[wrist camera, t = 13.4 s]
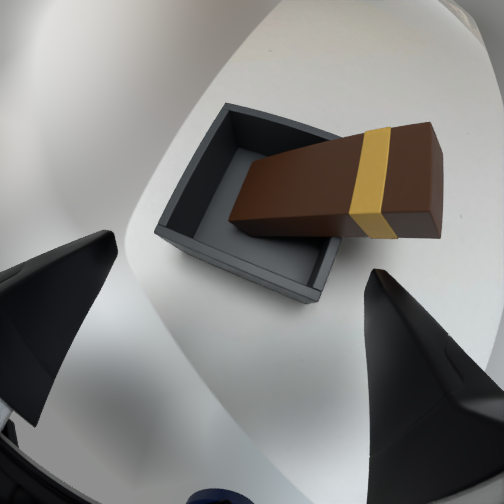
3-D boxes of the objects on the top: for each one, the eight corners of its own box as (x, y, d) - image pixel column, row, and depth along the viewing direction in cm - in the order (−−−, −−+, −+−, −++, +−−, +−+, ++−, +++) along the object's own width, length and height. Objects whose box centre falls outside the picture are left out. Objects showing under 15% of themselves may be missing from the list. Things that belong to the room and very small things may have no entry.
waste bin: (307, 304, 20) (317, 302, 14) (182, 251, 21) (153, 232, 16) (350, 183, 21) (369, 148, 16) (236, 143, 23) (225, 102, 18)
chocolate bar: (252, 237, 20) (441, 240, 10) (226, 221, 19) (429, 211, 9) (273, 178, 21) (443, 153, 11) (251, 160, 20) (430, 119, 10)
